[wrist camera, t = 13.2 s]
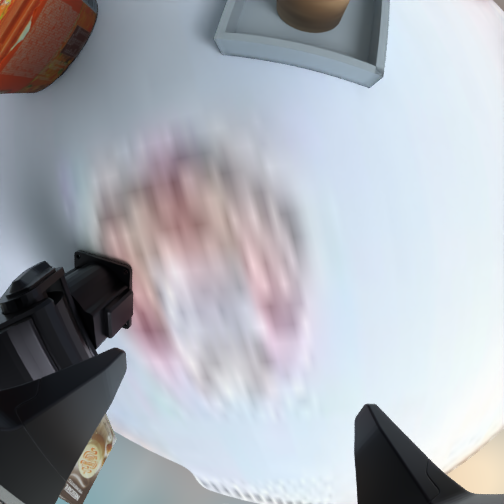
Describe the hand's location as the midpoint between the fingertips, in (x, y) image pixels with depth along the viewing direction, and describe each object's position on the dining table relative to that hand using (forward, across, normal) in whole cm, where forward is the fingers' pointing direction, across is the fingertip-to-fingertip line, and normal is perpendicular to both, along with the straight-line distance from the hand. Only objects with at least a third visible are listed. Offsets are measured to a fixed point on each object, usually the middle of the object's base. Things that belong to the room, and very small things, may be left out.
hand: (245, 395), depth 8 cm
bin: (+13, +1, -21) cm, 25 cm away
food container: (+13, +27, -19) cm, 36 cm away
